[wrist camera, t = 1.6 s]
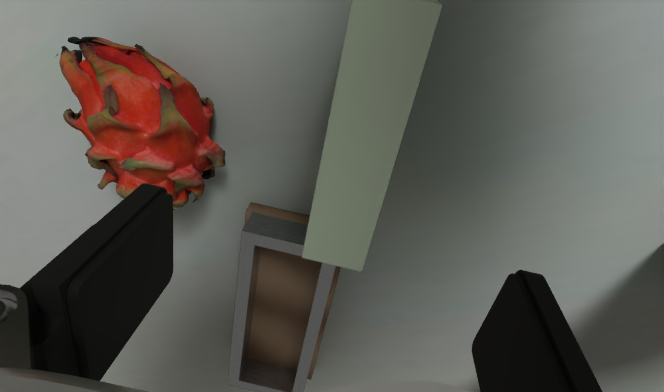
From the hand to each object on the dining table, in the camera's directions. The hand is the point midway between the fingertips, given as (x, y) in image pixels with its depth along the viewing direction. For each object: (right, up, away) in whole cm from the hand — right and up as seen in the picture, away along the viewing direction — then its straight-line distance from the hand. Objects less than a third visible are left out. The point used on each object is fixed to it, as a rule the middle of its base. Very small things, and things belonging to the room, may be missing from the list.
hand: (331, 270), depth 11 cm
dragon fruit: (-12, +8, +18) cm, 23 cm away
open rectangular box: (-4, -7, +25) cm, 26 cm away
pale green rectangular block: (+3, +9, +15) cm, 18 cm away
